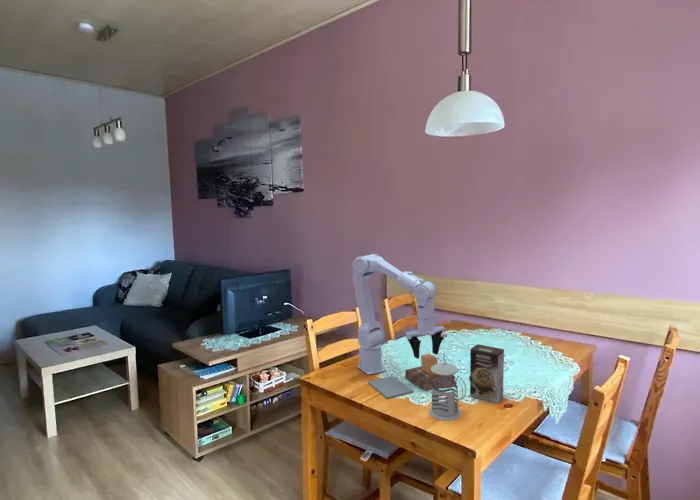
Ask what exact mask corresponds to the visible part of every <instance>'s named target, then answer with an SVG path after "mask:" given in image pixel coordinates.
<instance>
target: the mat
mask: <svg viewBox="0 0 700 500" xmlns="http://www.w3.org/2000/svg"><path fill="white" fill-rule="evenodd" d="M367 384H368V385H369V386H370V387H371V388H373V389H375V390H376V392H378V393H379V394H381V395H382V396H383V397H384V398H385V399H387V400H389V399H393V398H394V399H395V398H397V397H400V396H401V397H402V396H406V395H409V394H413V393H414V390H413V389H412V388H410V387H409V386H407V385H406V384H405V383H403V382H402V381H400V380H399V379H398V378H396V377H394V376H393V375H391V376H387V377H382V378H376V379H374V380H370V381H367ZM405 394H406V395H405Z"/></svg>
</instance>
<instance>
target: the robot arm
mask: <svg viewBox="0 0 700 500" xmlns="http://www.w3.org/2000/svg"><path fill="white" fill-rule="evenodd" d="M351 265H352V276H351V277H352V283H353V288H354V292H355V293H354V294H355V298H356V299H355V300H356V304H357V308H358V313H359V318H360V322H361V324H360V326H359V327H358V330H357V333H358V336H357V341H358V345H359V348H358V349H359V350H358V363H359V364H358V365H357V368H358V369H360V370H361V371H362V372H363V373H365V374H366V375H367V376H368V375H373V374H379V373H382V372H383V373H384V372H386V371H387V368H385V367H384V366H383V361H382V346H383V342H384V341H385V338H386V336H385V332H384V330H383V328H382V326H381V323H380V322H378V321H377V320H376V315H375V310H374V305H373V300H372V296H371V292H370V291H371V290H370V286H369V282H368V281H369V279H370V277H371V276H372V274H374V273H376V272H381V273H382V274H384V275H386V276H387V277H390V278H392V279H394V280H395V281H397V284H398V286H399V287H401V288H403V289H404V290H405V291H407V292H409V293H411V294H412V296H413V297H414V299H415V301H416V329H412V330H410V331H406V332H405V338H406V339H407V341H408V343H409V344H410V347H411V350H412V352H413V353H412V354H413V358H415V359H416V360H418V359H420V347H421V340H420V339H419V338H420V337H424V336H426V337H427V336H430V338H431V343H432V345H431V346H432V347H431V350H432V354H433V355H439V350H440V347H441V344H442V342H443V341H444V340H445V337H441V333H442V332H445V333H446V328H445V327H444V326H442V325H440V326H435V301H434V297H435V296H436V295H437V291H438V290H437V287H436V284H434V283H433V282H432V281H429V280H426V281H425V280H424V279H423V278H419V277H418V276H416V275H414V273H413V272H412V271H401V270H400V269H398V268H396V267H395V266H394V265H393V264H390V263H389V262H388V261H386V260H385V259H384V258H383V256H379V255H378V254H377V253H371V254H369V255H363V256H357V257H356V258H355V259H354V261H353V262H352V264H351Z"/></svg>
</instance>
